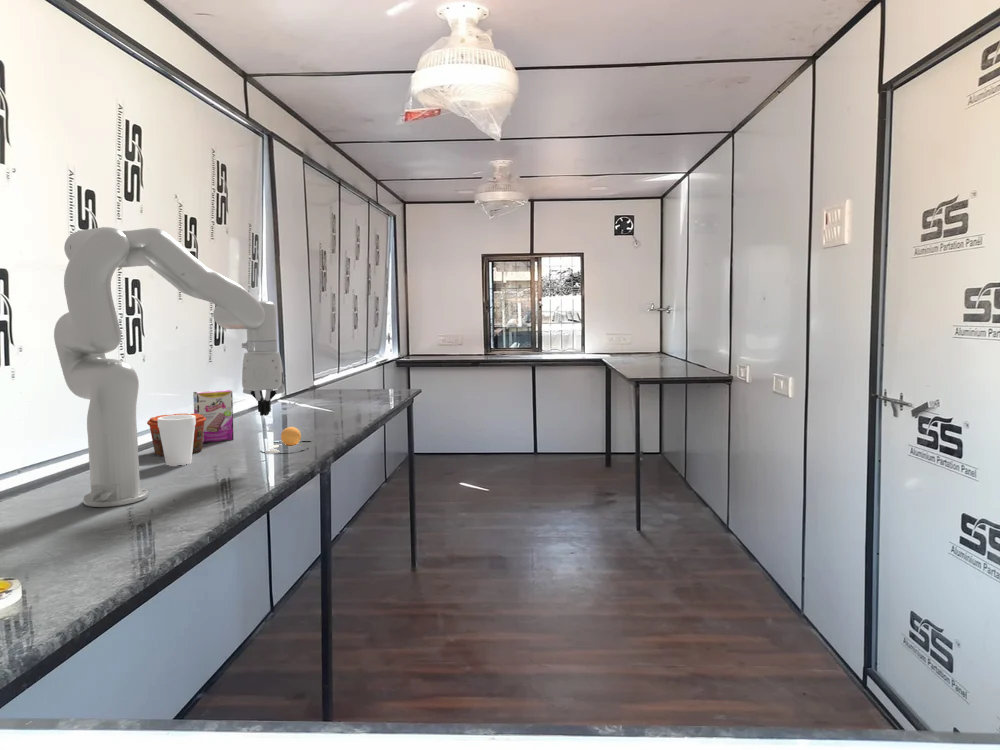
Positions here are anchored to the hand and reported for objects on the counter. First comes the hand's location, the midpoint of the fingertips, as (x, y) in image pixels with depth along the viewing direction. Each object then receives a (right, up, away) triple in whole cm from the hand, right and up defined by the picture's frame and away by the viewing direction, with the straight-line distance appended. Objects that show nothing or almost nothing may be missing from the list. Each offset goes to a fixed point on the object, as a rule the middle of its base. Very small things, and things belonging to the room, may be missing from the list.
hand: (264, 414), depth 182 cm
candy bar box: (-29, -11, +37) cm, 48 cm away
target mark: (-2, -12, +23) cm, 26 cm away
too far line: (-3, -11, +35) cm, 37 cm away
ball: (-2, -9, +28) cm, 29 cm away
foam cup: (-25, -14, +4) cm, 29 cm away
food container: (-33, -13, +19) cm, 40 cm away
